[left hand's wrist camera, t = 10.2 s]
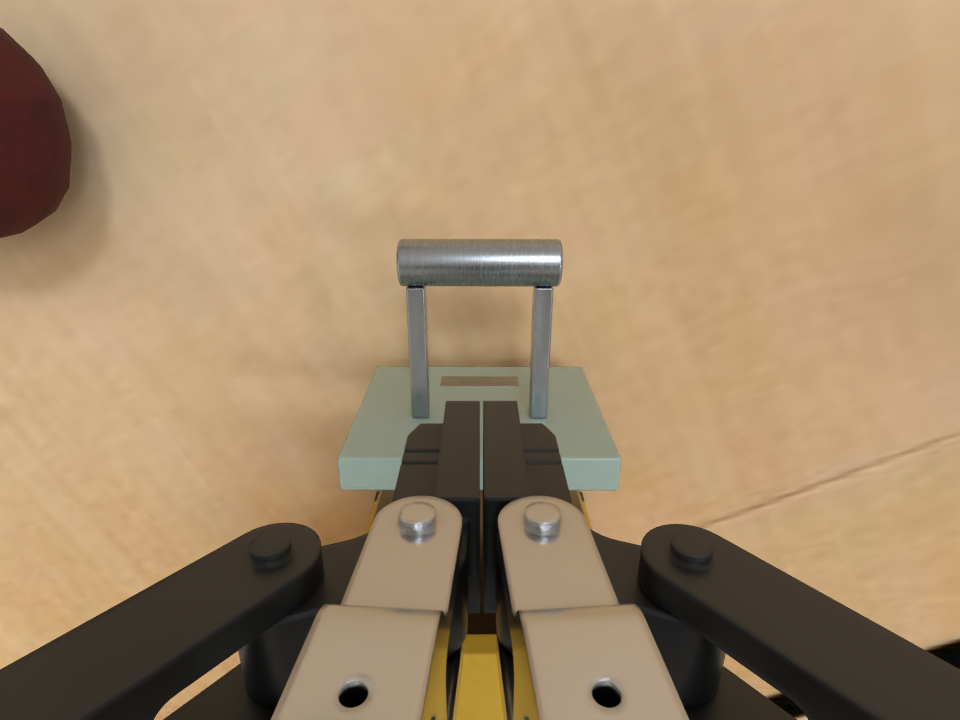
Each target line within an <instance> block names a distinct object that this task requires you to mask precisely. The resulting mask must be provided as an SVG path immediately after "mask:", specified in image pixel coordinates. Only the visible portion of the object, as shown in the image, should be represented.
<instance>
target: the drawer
mask: <svg viewBox="0 0 960 720" xmlns="http://www.w3.org/2000/svg"><path fill="white" fill-rule="evenodd" d="M562 267H563V252H562V244H561V241H560V240H558V239H401V240H399V242H398V246H397V275H398V281H399V283H400V285H401V286H407V289H406V297H407V319H408V341H409V363H410V367H377V369H376V371H375V374H374V376H373V378H372V380H371V383H370V385H369V387H368V390H367V392H366V394H365V396H364V399H363V401H362V403H361V406H360V408H359V410H358V412H357V415H356V417H355V419H354V422H353V424H352V426H351V428H350V431H349V433H348V435H347V438H346V440H345V442H344V444H343V447H342V449H341V451H340V454H339V456H338V458H337V461H338V471H339V481H340V488H341V489H342V490H380V494H379V498H378V501H377V505H376V508H375V512H374V516H373V519H372V523H371V526H372V524H373V521H374V519H375V517H376V515H377V514H378V513H379V511H380V510H381V509H383V508H384V507H385V506H387V505H388V504H390V503H392V500H393V495H394V491H395V487H396V483H397V479H398V474H399V470H400V466H401V464H402V458H403V453H404V449H405V445H406V441H407V436H408V435H409V434H410V433H411V432H412V431H413V430H414V429H415V428H416V427H417V426H418V425H420V424H421V423H443V420H444V412H445V404H446V401H480V613H468V630H467V634H496V613H484V572H483V401H517V404H518V411H519V418H520V423H543V424H544V425H545V426H546V427H547V428H548V429H549V430H550V431H551V432H552V433H553V434H554V435H555V436H556V440H557V444H558V448H559V453H560V456H561V460H562V464H563V468H564V472H565V476H566V480H567V484H568V488H569V492H570V496H571V500H572V504H573V506H575V507H576V508H577V509H579V510H580V511H581V513H582V514H583V515H584V517H585V514H584V510H583V507H582V503H581V499H580V496H579V492H578V490H618V486H619V477H620V467H621V457H620V455H619V453H618V450H617V448H616V446H615V443H614V441H613V439H612V436H611V434H610V432H609V429H608V427H607V425H606V423H605V420H604V418H603V416H602V413H601V411H600V409H599V406H598V404H597V402H596V399H595V397H594V395H593V392H592V390H591V388H590V385H589V383H588V381H587V378H586V376H585V374H584V372H583V369H582V367H549V365H550V344H551V324H552V303H553V288H552V286H559V284H560V282H561V277H562ZM426 286H533V303H532V331H531V359H530V367H429V358H428V328H427V297H426ZM585 519H586V518H585Z"/></svg>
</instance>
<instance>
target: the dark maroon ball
mask: <svg viewBox="0 0 960 720" xmlns="http://www.w3.org/2000/svg"><path fill="white" fill-rule="evenodd" d="M70 162H71V139H70V135H69V131H68V127H67V123H66V119H65V114H64V110H63V106H62V102H61V99H60V97H59V96H58V94H57V92H56V91H55V89H54V87H53V86H52V84H51V82H50V80H49V79H48V77H47V75H46V74H45V72H44V70H43V69H42V68H41V66H40V65H39V64H38V63H37V62H36V61H35V60H34V58H33V57H31V56H30V55H29V54H28V53H27V52H26V51H25V50H24V49H23V48H22V47H21V46H20V45H19V44H18V43H17V42H16V41H15V40H14V39H13V38H12V37H11V36H10V35H8V34H7V33H6V32H5V31H4V30H3V29H2V28H0V238H2V237H6V236H10V235H15V234H19V233H22V232H24V231H26V230H27V229H29V228H31V227H33V226H34V225H36V224H37V223H39V222H40V221H42V220H43V219H45V218H46V217H48V216H49V215H50V214H52V213H53V212H55V211H56V209H57V208H58V206H59V204H60V202H61V200H62V199H63V197H64V195H65V193H66V192H67V190H68V188H69V178H70Z"/></svg>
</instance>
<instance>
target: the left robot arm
mask: <svg viewBox="0 0 960 720" xmlns="http://www.w3.org/2000/svg"><path fill="white" fill-rule="evenodd" d="M483 572H484V613H496V658H497V667H498V675H499V683H500V692H501V700H502V708H503V717H504V720H796V719H795V718H794V717H792V716H791V715H790V714H788V713H787V712H785V711H784V710H783V709H781V708H780V707H779V706H777V705H776V704H774V703H773V702H772V701H770V700H769V699H768V698H766V697H765V696H764V695H762V694H761V693H759V692H758V691H757V690H755V689H754V688H753V687H751V686H750V685H748V684H747V683H746V682H744V681H743V680H742V679H740V678H739V677H738V676H736V675H735V674H733V673H732V672H731V671H729V670H728V669H727V668H725V667H724V666H723V664H724V659H725V654H728V655H729V656H730V657H732V658H733V659H735V660H736V661H737V662H739V663H740V664H742V665H743V666H744V667H746V668H747V669H749V670H750V671H752V672H753V673H754V674H756V675H757V676H759V677H760V678H761V679H763V680H764V681H766V682H767V683H768V684H770V685H771V686H773V687H774V688H775V689H777V690H778V691H780V692H781V693H782V694H784V695H785V696H787V697H788V698H789V699H791V700H792V701H793V702H794V703H795V704H796V705H797V706H799V708H800V709H801V710H802V711H803V712H804V714H805V715H806V716H807V718H808V720H960V670H959V669H958V668H956V667H954V666H952V665H950V664H949V663H947V662H945V661H943V660H941V659H940V658H938V657H936V656H934V655H932V654H931V653H929V652H927V651H925V650H923V649H922V648H920V647H918V646H916V645H914V644H913V643H911V642H909V641H907V640H905V639H904V638H902V637H900V636H898V635H896V634H895V633H893V632H891V631H889V630H887V629H886V628H884V627H882V626H880V625H878V624H877V623H875V622H873V621H871V620H869V619H868V618H866V617H864V616H862V615H860V614H859V613H857V612H855V611H853V610H851V609H850V608H848V607H846V606H844V605H842V604H841V603H839V602H837V601H835V600H833V599H832V598H830V597H828V596H826V595H824V594H823V593H821V592H819V591H817V590H815V589H814V588H812V587H810V586H808V585H806V584H805V583H803V582H801V581H799V580H797V579H796V578H794V577H792V576H790V575H788V574H787V573H785V572H783V571H781V570H779V569H778V568H776V567H774V566H772V565H770V564H769V563H767V562H765V561H763V560H761V559H760V558H758V557H756V556H754V555H752V554H751V553H749V552H747V551H745V550H743V549H742V548H740V547H738V546H736V545H734V544H733V543H731V542H729V541H727V540H725V539H724V538H722V537H720V536H718V535H716V534H714V533H712V532H710V531H708V530H705V529H702V528H699V527H695V526H690V525H684V524H668V525H662V526H659V527H656V528H654V529H652V530H650V531H649V532H648V533H647V534H646V535H645V536H644V538H643V540H642V544H641V546H640V545H635V544H631V543H626V542H622V541H618V540H614V539H610V538H607V537H605V536H602V535H600V534H598V533H596V532H594V531H593V530H591V529H589V526H588V524H587V521H586V519H585V517H584V515H583V514H582V513H581V511H580V510H579V509H577V508H576V507H575V506H573V504H572V500H571V496H570V492H569V488H568V484H567V480H566V476H565V472H564V468H563V464H562V460H561V456H560V453H559V448H558V444H557V440H556V436H555V435H554V434H553V433H552V432H551V431H550V430H549V429H548V428H547V427H546V426H545V425H544V424H543V423H520V418H519V411H518V404H517V401H483ZM468 613H480V401H446V404H445V412H444V420H443V423H421V424H420V425H418V426H417V427H416V428H415V429H414V430H413V431H412V432H411V433H410V434H409V435H408V436H407V441H406V445H405V449H404V453H403V458H402V464H401V466H400V470H399V474H398V479H397V483H396V487H395V491H394V495H393V500H392V503H390V504H388V505H387V506H385V507H384V508H383V509H381V510H380V511H379V513H378V514H377V515H376V517H375V519H374V521H373V524H372V526H371V529H370V531H369V533H367V534H364V535H362V536H360V537H357V538H355V539H351V540H347V541H343V542H339V543H334V544H330V545H325V546H321V541H320V539H319V536H318V535H317V534H316V532H315V531H313V530H312V529H311V528H309V527H307V526H304V525H300V524H295V523H276V524H271V525H266V526H263V527H259V528H257V529H254V530H252V531H250V532H247V533H245V534H244V535H242V536H240V537H238V538H236V539H235V540H233V541H231V542H229V543H227V544H226V545H224V546H222V547H220V548H218V549H217V550H215V551H213V552H211V553H209V554H208V555H206V556H204V557H202V558H200V559H199V560H197V561H195V562H193V563H191V564H190V565H188V566H186V567H184V568H182V569H181V570H179V571H177V572H175V573H173V574H172V575H170V576H168V577H166V578H164V579H163V580H161V581H159V582H157V583H155V584H154V585H152V586H150V587H148V588H146V589H145V590H143V591H141V592H139V593H137V594H136V595H134V596H132V597H130V598H128V599H127V600H125V601H123V602H121V603H119V604H118V605H116V606H114V607H112V608H110V609H109V610H107V611H105V612H103V613H101V614H100V615H98V616H96V617H94V618H92V619H91V620H89V621H87V622H85V623H83V624H82V625H80V626H78V627H76V628H74V629H73V630H71V631H69V632H67V633H65V634H64V635H62V636H60V637H58V638H56V639H55V640H53V641H51V642H49V643H47V644H46V645H44V646H42V647H40V648H38V649H37V650H35V651H33V652H31V653H29V654H28V655H26V656H24V657H22V658H20V659H19V660H17V661H15V662H13V663H11V664H10V665H8V666H6V667H4V668H2V669H1V670H0V720H154V718H155V716H156V715H157V713H158V712H159V710H160V709H161V708H162V707H163V706H164V705H165V704H166V703H167V702H168V701H169V700H170V699H171V698H172V697H173V696H175V695H176V694H178V693H179V692H180V691H182V690H183V689H185V688H186V687H187V686H189V685H190V684H192V683H193V682H194V681H196V680H197V679H199V678H200V677H201V676H203V675H204V674H206V673H207V672H209V671H210V670H211V669H213V668H214V667H216V666H217V665H218V664H220V663H221V662H223V661H224V660H225V659H227V658H228V657H230V656H231V655H232V654H234V653H235V652H237V651H238V652H239V657H240V662H241V663H240V664H239V665H238V666H236V667H235V668H233V669H232V670H231V671H229V672H228V673H227V674H225V675H224V676H223V677H221V678H220V679H218V680H217V681H216V682H214V683H213V684H212V685H210V686H209V687H207V688H206V689H205V690H203V691H202V692H201V693H199V694H198V695H196V696H195V697H194V698H192V699H191V700H190V701H188V702H187V703H186V704H184V705H183V706H181V707H180V708H179V709H177V710H176V711H175V712H173V713H172V714H170V715H169V716H168V717H166V718H165V719H164V720H456V717H457V708H458V700H459V692H460V683H461V675H462V667H463V658H464V641H465V638H466V636H467V630H468Z"/></svg>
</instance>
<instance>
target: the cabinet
mask: <svg viewBox="0 0 960 720" xmlns="http://www.w3.org/2000/svg"><path fill="white" fill-rule="evenodd" d="M379 494H380V493H379V492H377V493H376V496H375V500H374V505H373V509H372V512H371V516H370V519H369V523H368V526H367V530H366V533H365V534H367V533H369V531H370V529H371V523H372V519H373V516H374V512H375V508H376V505H377V501H378V498H379ZM579 496H580V499H581V503H582V507H583V510H584V514H585V518H586V521H587V524H588V526H589V529H591V530H592V528H591V525H590V521H589V518H588V514H587V510H586V507H585V504H584V498H583V494H582V492H580V493H579ZM456 720H504V717H503V708H502V700H501V692H500V683H499V675H498V667H497V658H496V634H467V636H466V638H465V641H464V658H463V667H462V675H461V683H460V692H459V700H458V708H457V717H456Z"/></svg>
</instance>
